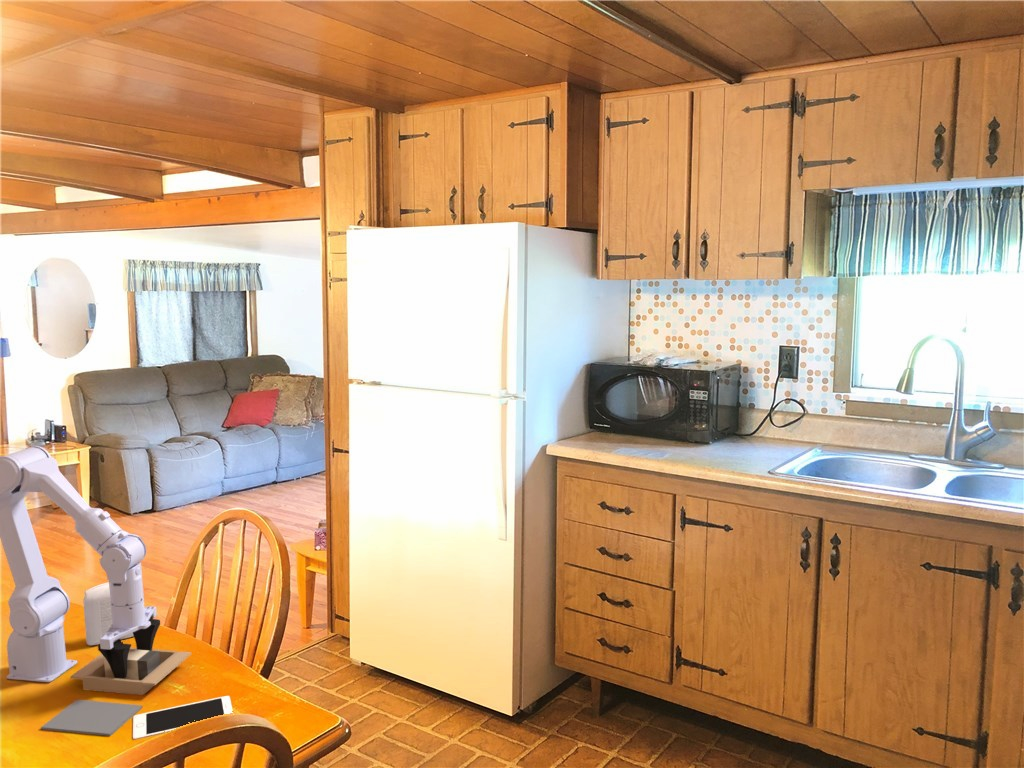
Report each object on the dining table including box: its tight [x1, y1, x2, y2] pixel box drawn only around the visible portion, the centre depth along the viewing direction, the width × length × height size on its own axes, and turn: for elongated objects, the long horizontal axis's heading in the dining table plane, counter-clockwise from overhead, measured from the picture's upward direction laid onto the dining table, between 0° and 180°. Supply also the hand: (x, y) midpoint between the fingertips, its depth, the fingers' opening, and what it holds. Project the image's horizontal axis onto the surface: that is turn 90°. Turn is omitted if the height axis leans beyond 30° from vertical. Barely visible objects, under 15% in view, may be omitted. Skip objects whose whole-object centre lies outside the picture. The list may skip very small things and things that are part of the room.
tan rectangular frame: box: [70, 647, 192, 696], centre depth 158 cm, size 17×12×2 cm
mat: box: [40, 699, 143, 737], centre depth 143 cm, size 13×9×1 cm
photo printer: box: [82, 581, 134, 646], centre depth 173 cm, size 10×4×12 cm, turn 123°
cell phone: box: [132, 695, 234, 740], centre depth 144 cm, size 8×16×1 cm, turn 114°
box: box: [104, 649, 161, 680], centre depth 157 cm, size 9×4×4 cm, turn 81°
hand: (132, 667), depth 158 cm, fingers open, 7 cm apart
